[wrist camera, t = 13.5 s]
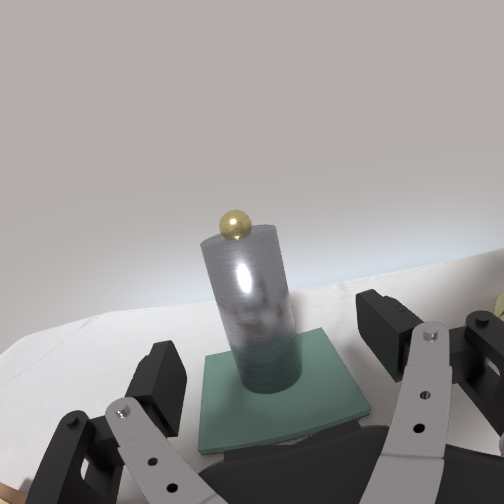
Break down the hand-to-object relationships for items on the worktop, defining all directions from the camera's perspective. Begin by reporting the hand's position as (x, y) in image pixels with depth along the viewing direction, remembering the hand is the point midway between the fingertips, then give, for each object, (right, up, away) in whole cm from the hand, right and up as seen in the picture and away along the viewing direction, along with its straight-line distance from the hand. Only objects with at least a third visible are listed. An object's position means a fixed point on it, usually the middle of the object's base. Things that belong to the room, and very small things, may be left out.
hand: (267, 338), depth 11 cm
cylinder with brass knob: (+1, -6, +9) cm, 11 cm away
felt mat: (+1, -7, +8) cm, 11 cm away
